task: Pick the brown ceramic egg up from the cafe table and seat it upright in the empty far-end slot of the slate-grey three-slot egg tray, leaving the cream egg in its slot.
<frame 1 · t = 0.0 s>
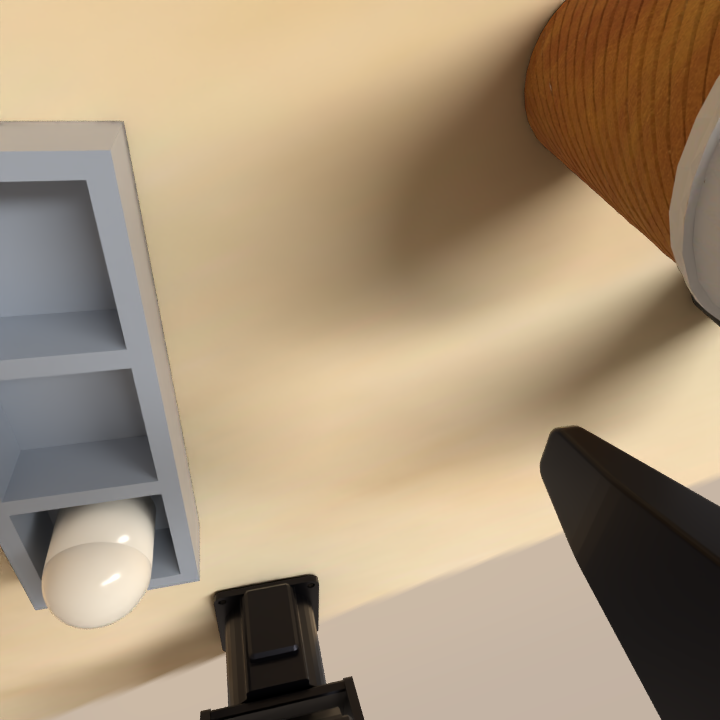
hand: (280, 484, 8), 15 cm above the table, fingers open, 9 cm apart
egg tray: (79, 381, 23), on the table
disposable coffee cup: (597, 72, 21), on the table
cream egg: (111, 497, 26), point 1 cm above the table, touching egg tray
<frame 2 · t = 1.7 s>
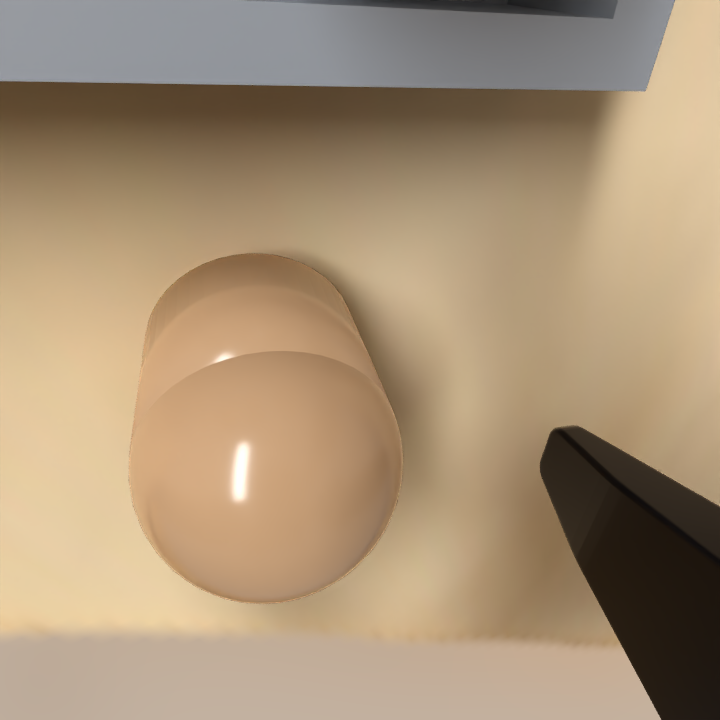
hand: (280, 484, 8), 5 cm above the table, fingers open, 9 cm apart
brown egg: (250, 322, 12), on the table
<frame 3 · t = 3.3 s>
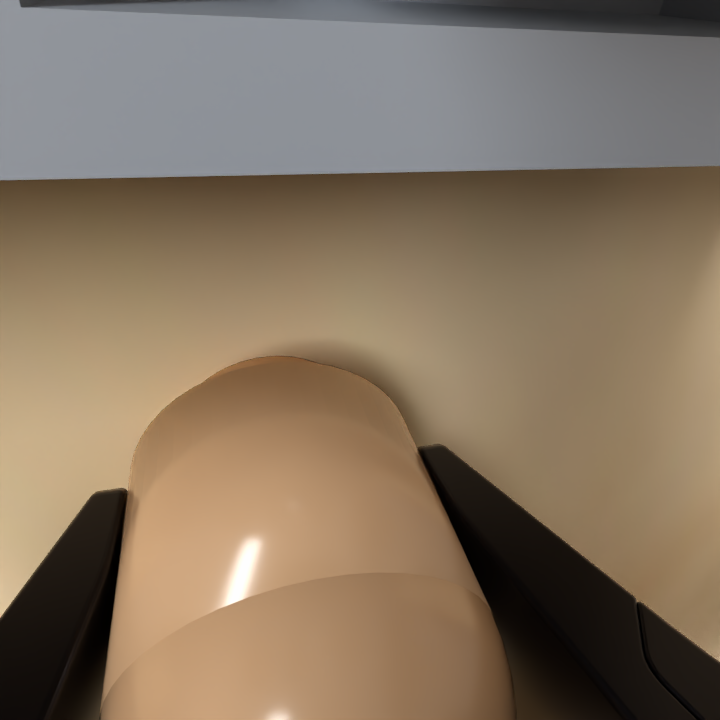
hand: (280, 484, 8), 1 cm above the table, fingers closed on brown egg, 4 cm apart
brown egg: (270, 429, 9), on the table, touching gripper
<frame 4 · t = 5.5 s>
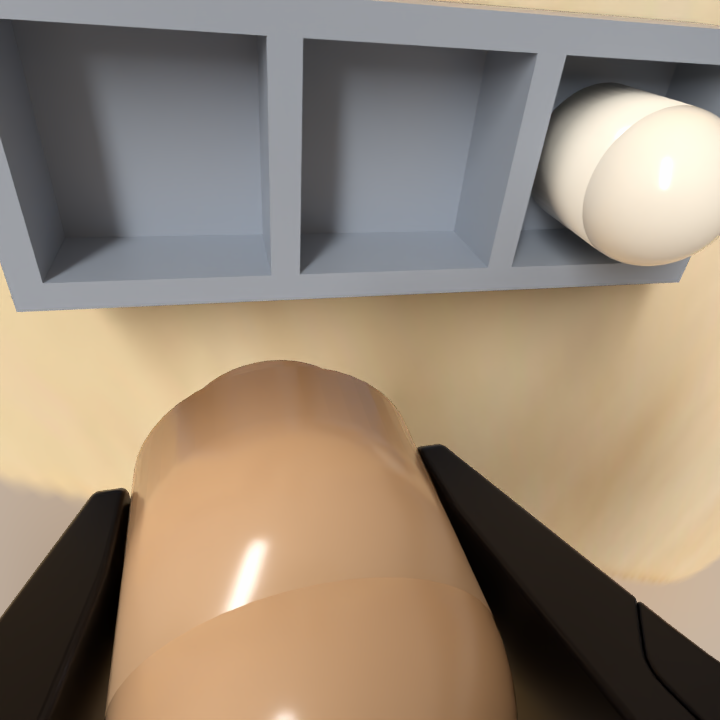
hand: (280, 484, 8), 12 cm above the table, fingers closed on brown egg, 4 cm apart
egg tray: (377, 137, 17), on the table
cream egg: (572, 146, 18), point 1 cm above the table, touching egg tray
brown egg: (272, 432, 9), point 11 cm above the table, touching gripper
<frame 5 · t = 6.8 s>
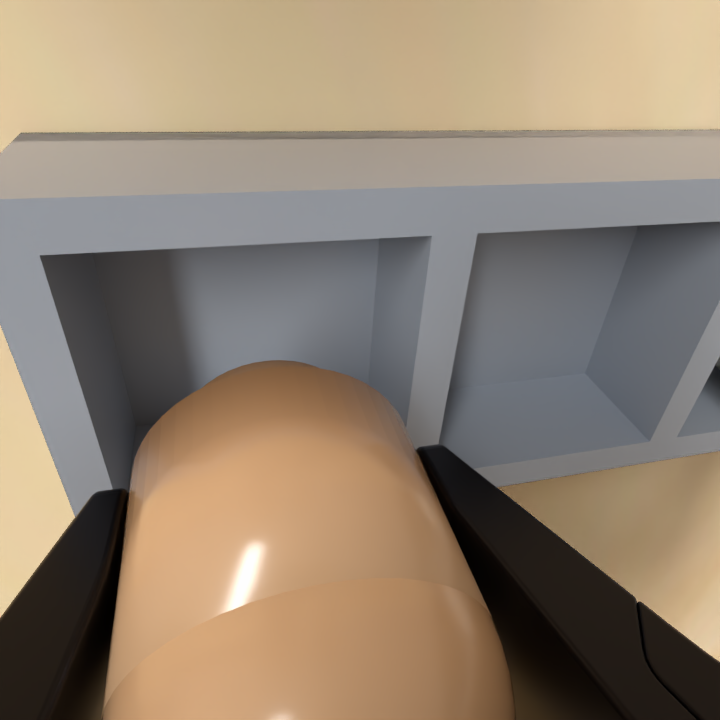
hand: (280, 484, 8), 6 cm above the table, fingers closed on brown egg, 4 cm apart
egg tray: (506, 281, 14), on the table
brown egg: (271, 433, 9), point 4 cm above the table, touching gripper
when the fingers open (4 cm above the table, at t = 7.9 s): brown egg drops 2 cm, resting on egg tray.
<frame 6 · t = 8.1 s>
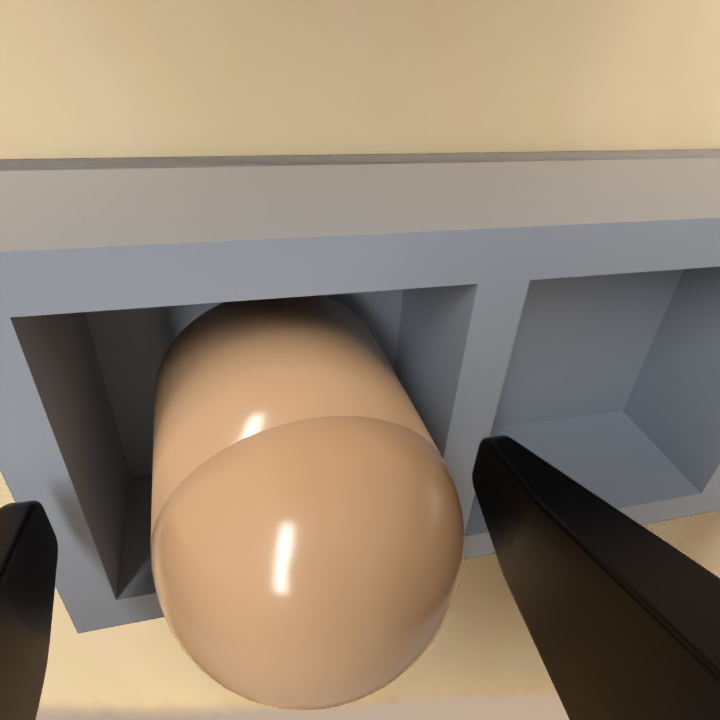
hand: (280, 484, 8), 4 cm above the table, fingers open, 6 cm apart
egg tray: (540, 314, 13), on the table
brown egg: (267, 360, 11), point 1 cm above the table, touching egg tray
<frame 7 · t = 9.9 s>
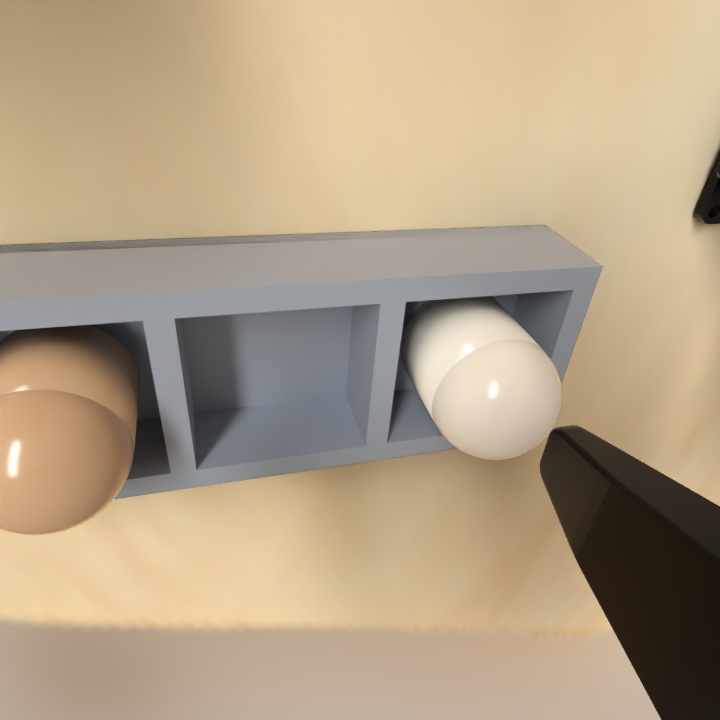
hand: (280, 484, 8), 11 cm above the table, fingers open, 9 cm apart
egg tray: (268, 332, 20), on the table
cream egg: (443, 326, 21), point 1 cm above the table, touching egg tray
brown egg: (72, 360, 18), point 1 cm above the table, touching egg tray
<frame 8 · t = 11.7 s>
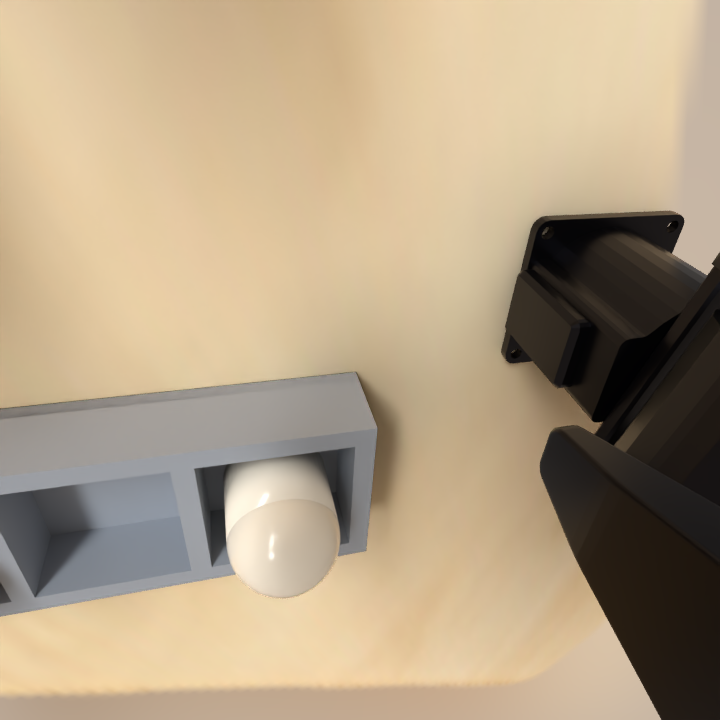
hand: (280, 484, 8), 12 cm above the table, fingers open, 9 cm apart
egg tray: (110, 468, 23), on the table
cream egg: (272, 457, 24), point 1 cm above the table, touching egg tray
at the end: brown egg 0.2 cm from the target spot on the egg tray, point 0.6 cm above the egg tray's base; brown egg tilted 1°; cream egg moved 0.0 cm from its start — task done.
